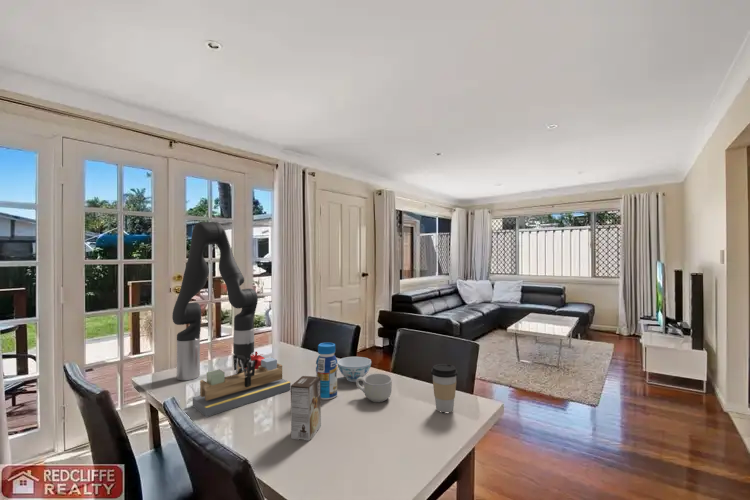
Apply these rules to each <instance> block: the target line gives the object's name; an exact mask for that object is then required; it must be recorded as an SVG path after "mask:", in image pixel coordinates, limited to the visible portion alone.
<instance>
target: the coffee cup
mask: <svg viewBox="0 0 750 500" xmlns="http://www.w3.org/2000/svg"><path fill="white" fill-rule="evenodd" d="M430 374H431V375H432V385H433V387H432V389H433V396H434V402H435V409H437V410H438V411H441V412H451V411H454V409H455V408H454V406H455V398H456V389H457V376H458V374H459V372H458V370H457V368H456V366H454V365H452V364H449V363H447V364H446V363H439V364H434V365H433V366H432V368H431V369H430ZM437 410H436V411H437ZM438 411H437V412H438ZM451 413H452V412H451Z"/></svg>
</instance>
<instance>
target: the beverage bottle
mask: <svg viewBox="0 0 750 500" xmlns="http://www.w3.org/2000/svg"><path fill="white" fill-rule="evenodd" d="M335 353H336V343H333V342H320V343H319V344H318V345H317V354H318V356H317V358H316V361H315V365H316V366H315V372H316V375H315V377H320V392H321V400H323V401H324V400H332V399H335V398H336V397H337V396H338V370H339V368H338V364H337V362H338V359H337V357H336V355H335Z"/></svg>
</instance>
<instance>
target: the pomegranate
mask: <svg viewBox="0 0 750 500" xmlns="http://www.w3.org/2000/svg"><path fill="white" fill-rule="evenodd" d="M263 355H265V353H261V354H258V351H254V353H252V354H251V360H252V361H253V360H255V369H258V366H261V360H262V359H266V358H265V357H264V356H263ZM245 369H247V368H245Z"/></svg>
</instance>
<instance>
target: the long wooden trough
mask: <svg viewBox="0 0 750 500" xmlns="http://www.w3.org/2000/svg"><path fill="white" fill-rule="evenodd" d="M281 379H283V365H282V364H280V363H278V362H277V369H273V370H269V371H268V369H266V368H264V367H262V366H258V369H255V373H254V376H251V386H250V387H245V375H244V372H243V373H239V374H237V373H236V374H231V375H228V376H225V382H223V383H219V384H215V385H210V384H209V383H207V381H205V380H204V379H200V380H199V385H200V386H199V389H200V390H199V396H201V397H204V396H205V400H206V401H207V400H211V399H214V398H218V397H221V396H225V395H228V394H232V393H235V392H239V391H242V390H246V389H249V388H253V387H256V386H260V385H263V384H267V383H270V382H274V381H277V380H281Z"/></svg>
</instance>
